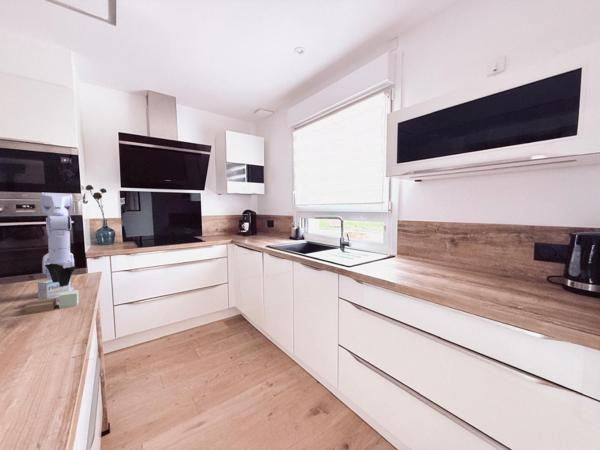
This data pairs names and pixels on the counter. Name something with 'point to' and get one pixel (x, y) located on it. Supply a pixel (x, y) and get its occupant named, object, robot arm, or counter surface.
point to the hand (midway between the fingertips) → (60, 283)
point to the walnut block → (40, 305)
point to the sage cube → (68, 298)
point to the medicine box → (50, 289)
